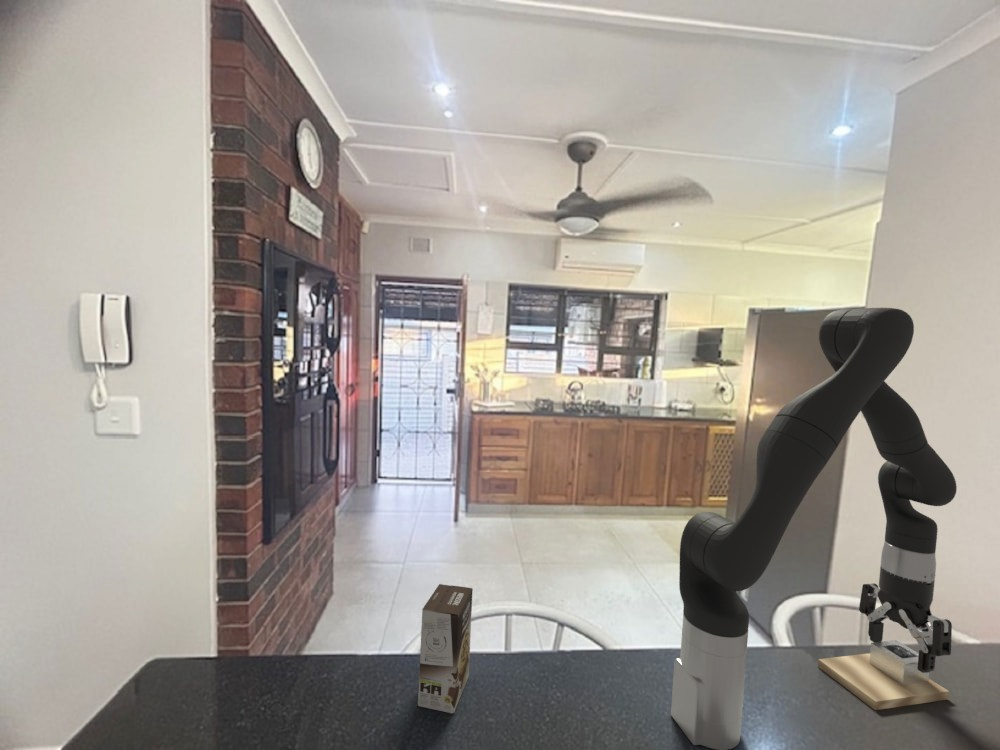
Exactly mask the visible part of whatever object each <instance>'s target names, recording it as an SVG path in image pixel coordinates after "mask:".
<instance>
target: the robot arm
mask: <svg viewBox="0 0 1000 750" xmlns="http://www.w3.org/2000/svg"><path fill="white" fill-rule="evenodd" d="M914 328H915V325H914V320H913V318H912V317H911V315H910V314H909V313H908V312H906V311H905V310H903V309H899V308H893V307H865V308H864V307H859V308H858V307H857V308H842V309H837V310H834V311H831V312H830V313H828V314H827V315H826V316H825V317H824V319H823V320H822V321H821V325H820V326H819V329H818V331H819V332H818V341H819V345H820V349H821V351H822V353H823V354H824V356H825V359H827V361H828V363H829V364H830V366H831V367H832V369H833V370H834V371H835V373H833V374H832V375H831V376H829V377H828V378H827V379H824V381H822V382H820V383H819V384H817V385H815V386H813V387H812V388H809V390H806V391H805V392H803V393H801V394H800V395H798V396H796V397H794V399H792V400H790V401H789V402H788V403H786V404H785V405H784V406H783V407H782V408H781V409H780V410H779V411H777V413H776V415H775V417H774V418H773V420H772V421H771V423H770V424H769V426H768V427H767V428H766V430H765V431H764V433H763V434H762V436H761V437H760V439H759V442H758V445H757V449H756V463H755V464H756V465H755V466H756V470H755V471H756V473H755V474H756V476H755V477H756V479H755V480H756V482H755V488H754V492H753V494H752V496H751V499H750V500H749V502H748V504H747V506H746V507H745V509H744V510H743V512H742V513H741V515H740V517H739V518H738V519H737V520H736V522H735V521H733V520H731V519H729V518H726V517H725V516H723V515H721V514H718V513H716V512H712V511H701V512H698V513H697V514H694V515H693V516H692V517H691V518H690V519H689V520H688V521H687V523H686V525H685V526H684V529H683V531H682V533H681V534H682V535H681V538H680V543H679V576H678V577H679V582H678V583H679V592H680V598H681V601H682V604H683V614H682V627H681V628H682V629H681V640H680V641H681V643H680V653H679V655H680V657H676V658H675V659H674V662H673V676H672V677H673V678H672V691H671V693H672V694H671V708H670V710H671V711H670V716H671V717H672V718H673V720H674V721H675V723H676V724H677V725H678V726H679V728H680V729H681V730H682V732H683V733H684V734H685V736H686V737H687V738H688V740H689V741H690V743H692V745H693V746H700V745H701V746H703V747H705V748H708V749H712V750H728V749H729V750H731V749H734V748H735V747H737V746H738V745H739V743H740V741H741V734H742V733H741V732H742V721H743V720H742V719H743V704H744V693H745V692H744V690H745V679H746V678H745V677H746V664H747V663H746V662H747V653H748V652H747V650H748V639H749V626H750V625H749V624H750V614H749V610H748V607H747V605H746V604H745V603H744V602H743V600H742V598H741V597H740V596H739V594H738V592H742V591H745V590H748V589H749V588H751V587H752V586H753V585H754V584H756V583H757V582H758V580H759V579H760V578H761V577H762V575H763V574H764V573H765V571H766V570H767V568H768V566H769V564H770V563H771V560H772V559H773V556H774V555H775V552H776V550H777V549H778V546H779V544H780V542H781V540H782V539H783V537H784V534H785V532H786V530H787V528H788V526H789V524H790V522H791V520H792V518H793V517H794V515H795V513H796V512H797V510H798V508H799V506H800V505H801V503H802V501H803V500H804V498H805V497H806V495H807V493H808V491H809V490H810V488H811V487H812V485H813V484H814V482H815V481H816V479H817V478H818V476H819V475H820V473H821V472H822V471H823V469H824V468H825V467H826V465H827V463H828V462H829V461H830V459H831V457H832V456H833V455H834V453H835V451H836V450H837V448H838V447H839V445H840V443H841V442H842V440H843V438H844V436H845V435H846V433H847V432H848V430H849V428H850V427H851V426H852V424H853V423H854V421H855V420H856V418H857V416H858V415H859V414H860V413H861V414H862V415H863V418H864V420H865V422H866V424H867V426H868V429H869V432H870V434H871V436H872V437H871V438H872V439H873V441H874V443H875V446H876V448H877V451H878V453H879V455H880V457H881V458H883V460H885V462H884V463H883V464H882V465H881V466H880V468H879V471H878V474H877V482H878V488H879V491H880V496H881V500H882V504H883V508H884V513H885V517H886V518H885V520H886V522H885V531H884V532H885V534H884V542H883V545H882V551H881V557H880V569H879V579H878V580H879V581H878V584H877V583H876V582H875V583H863V584H862V589H861V593H860V598H859V599H860V600H859V606H858V610H859V612H860V613H861V614H864V615H865V616H866V617H867V620H868V631H867V632H868V633H867V634H868V637H869V641H871V642H872V643H874V642H883V638H884V637H883V635H884V626H885V624H884V623H885V622H883V621H885V620H886V619H888V620H890V621H891V622H893V623H897V624H898V625H900V626H901V627H902V628H904V629H907V630H908V631H909V633H910V635H911V637H912V638H914V639H915V640H916V642H917V644H918V646H919V648H920V649H919V650H918V653H919V657H918V667H917V669H918V670H919V671H921V672H922V673H927V672H930V673H931V672H933V671H934V670H935V667H936V657H942V656H951V655H952V637H953V635H952V634H953V633H952V628H953V627H952V626H953V625H952V622H951V621H950V620H949V619H947V618H945V619H944V618H943V619H942V618H939V617H937V616H935V615H933V614H932V611H931V607H932V603H933V601H934V590H935V579H936V568H937V561H936V560H937V559H936V558H937V557H936V552H937V551H936V549H937V539H938V525H937V522H936V521H935V520H934V519H933V518H931V517H929V516H927V515H926V514H923V513H921V512H919V511H917V509H915V508H914V506H913V505H912V503H911V501H912V502H915V503H920V504H923V505H926V506H927V505H928V506H930V507H931V506H933V507H942V506H947V504H950V503H951V502H952V501H953V500H954V498H955V497H956V494H957V481H956V479H955V476H954V474H953V472H952V471H951V469H950V468H949V466H948V465H947V463H946V462H944V460H943V459H942V458H941V457H940V455H939V454H938V453H937V452H936V450H935V449H934V448H933V447H932V446H931V445H930V444H929V442H928V440H927V436H926V433H925V430H924V428H923V426H922V423H921V420H920V418H919V416H918V414H917V413H916V411H915V410H914V409H913V407H912V405H910V404H909V403H908V402H907V401H906V400H905V398H903V397H902V396H901V395H900V394H899V393H898V392H897V391H895V389H893V388H892V387H891V386H890V385H889V384H888V383H887V382H886V379H887V378H888V377H889V376H890V375H891V373H892V372H893V371H894V370H895V369H896V367H897V366H899V364H900V363H901V361H902V360H903V359H904V358H905V356H906V354H907V352H908V350H909V349H910V348H911V347H910V346H911V344H912V341H913V337H914V332H915V329H914ZM877 600H879V601H880V604H881V605H880V606H878V607H876V605H877ZM929 624H930V625H929ZM919 629H921V631H919Z"/></svg>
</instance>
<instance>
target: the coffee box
mask: <svg viewBox="0 0 1000 750" xmlns="http://www.w3.org/2000/svg"><path fill="white" fill-rule="evenodd" d="M472 605H473V588H472V587H469V586H467V587H466V586H462V585H461V586H460V585H459V586H458V585H448V584H443V583H439V584H438V585H437V587H436V589H435V590H434V591H433V593H432V594H431V596H430V598H429V599H428V600H427V602H426V603H425V604H424V606H423V607H422V609H421V610H422V611H421V627H420V628H421V630H420V633H421V634H420V649H419V651H420V654H419V655H420V656H419V675H418V676H419V677H418V695H417V706H418V707H421V708H425V709H430V710H435V711H440V712H444V713H447V714H455V712H456V710H457V706H458V704H459V702H460V700H461V697H462V694H463V692H464V689H465V686H466V684H467V683H468V682H467V681H468V679H469V675H470V657H471V656H470V655H471V654H470V653H471V630H472V610H473V608H472V607H473V606H472Z"/></svg>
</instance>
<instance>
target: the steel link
mask: <svg viewBox="0 0 1000 750" xmlns="http://www.w3.org/2000/svg"><path fill="white" fill-rule="evenodd" d="M895 647H900V648H902V649H904V650H905V651H906V652H907V655H908V658H903V659H902V658H901V657H899V656H898V655H896V654H894V653H893V652H892V650H893V649H894V648H895ZM869 653H870V660H869V663H870V664H871V665H873V666H874V667H876V668H877V669H879V670H880V671H882V672H883V673H885V674H886V675H888V676H889V677H891V678H892V679H894V680H895V681H897V682H898V683H900V684H901V685H909V684H916V683H924V682H929V679H930V674H931V671H930V672H927V673H922V672H921V671H919V670H918V669H917V667H918V657H919V652H917V651H915V650H914V649H912V648H910V647H909V646H907V645H905V644H903V643H902V642H901V641H898V640H897V639H894V640H885V641H883V640H882V641H881V642H871V643H870V650H869Z"/></svg>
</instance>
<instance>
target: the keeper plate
mask: <svg viewBox="0 0 1000 750" xmlns="http://www.w3.org/2000/svg"><path fill="white" fill-rule="evenodd" d="M892 652H893V653H894V654H896V655H898V656H899V657H901V658H902V659H903V658H908V655H907V652H906V651H905V650H904V649H902V648H900V647H895V648H894V649H893V650H892ZM869 660H870V652H869V653H859V654H854V655H853V654H851V655H844V656H843V655H841V656H836V657H827V658H818V663H817V668H818V669H820V670H821V671H823V672H824V673H826V675H828V676H829V677H831V678H832V679H833V680H834V681H836V682H837V683H839V684H840V685H841V686H842V687H843V688H845V689H847V690H848V691H849V692H851V694H853V695H854V696H856V697H857V698H858V699H860V700H861V701H862V702H864V704H866V705H868V706H869V707H871V709H873V710H874V711H879V710H885V709H895V708H899V707H900V708H901V707H906V706H913V705H919V704H926V703H932V702H940V701H946V700H947V701H948V700H949V696H950V691H949V689H946V688H945V687H943V686H941V685H940V684H938V683H936V682H935V681H934V680H932V679H930V678H929V682H924V683H916V684H909V685H901V684H900V683H898V682H897V681H895V680H894V679H892V678H891V677H889V676H888V675H886V674H885V673H883V672H882V671H880V670H879V669H877V668H876V667H874V666H873V665H871V664H870V663H869Z"/></svg>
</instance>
